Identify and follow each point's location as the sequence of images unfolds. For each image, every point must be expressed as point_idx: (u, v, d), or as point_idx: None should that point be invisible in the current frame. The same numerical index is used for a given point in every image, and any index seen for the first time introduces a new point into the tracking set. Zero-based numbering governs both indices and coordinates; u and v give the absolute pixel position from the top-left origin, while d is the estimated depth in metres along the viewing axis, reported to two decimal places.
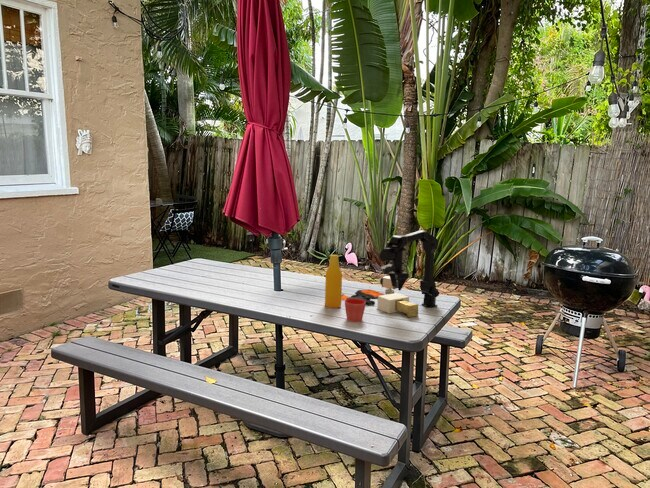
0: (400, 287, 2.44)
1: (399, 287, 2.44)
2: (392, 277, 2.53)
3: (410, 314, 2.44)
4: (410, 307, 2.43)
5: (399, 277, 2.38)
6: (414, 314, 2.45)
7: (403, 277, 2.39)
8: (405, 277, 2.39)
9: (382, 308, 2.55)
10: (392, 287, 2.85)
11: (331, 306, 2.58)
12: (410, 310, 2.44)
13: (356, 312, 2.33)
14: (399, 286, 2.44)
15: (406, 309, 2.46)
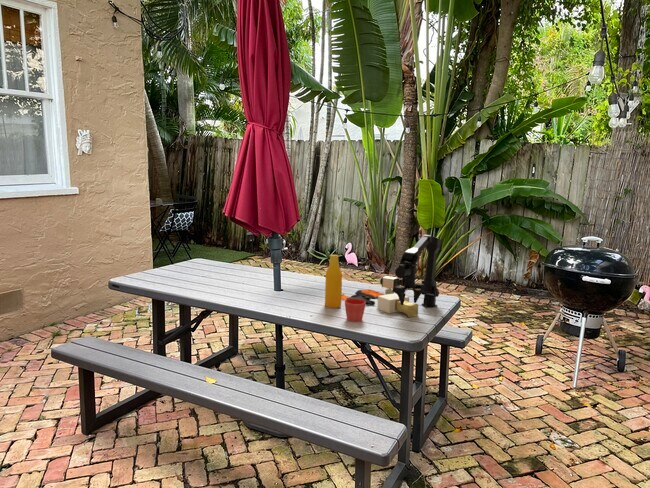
0: (401, 302, 2.45)
1: (400, 301, 2.45)
2: (415, 293, 2.50)
3: (410, 314, 2.44)
4: (410, 307, 2.43)
5: (393, 290, 2.44)
6: (414, 314, 2.45)
7: (395, 291, 2.42)
8: (397, 291, 2.41)
9: (382, 308, 2.55)
10: (392, 287, 2.85)
11: (331, 306, 2.58)
12: (410, 310, 2.44)
13: (356, 312, 2.33)
14: (400, 301, 2.45)
15: (406, 309, 2.46)
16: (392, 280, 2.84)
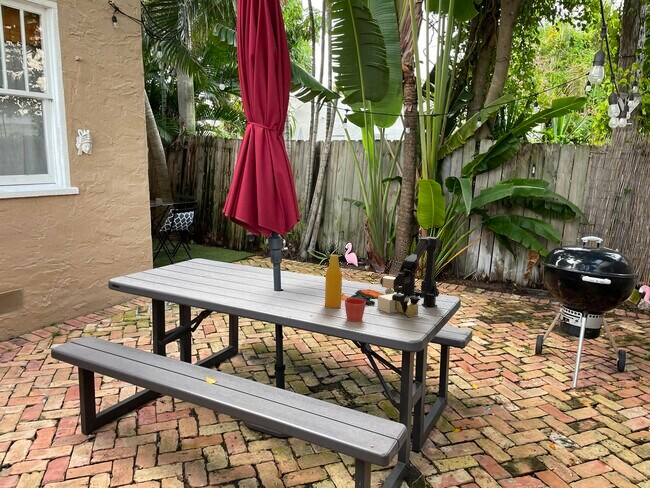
0: (403, 309, 2.46)
1: (403, 309, 2.47)
2: (411, 302, 2.50)
3: (410, 314, 2.44)
4: (410, 307, 2.43)
5: (392, 298, 2.44)
6: (414, 314, 2.45)
7: (395, 299, 2.42)
8: (396, 299, 2.41)
9: (382, 308, 2.55)
10: (392, 287, 2.85)
11: (331, 306, 2.58)
12: (410, 310, 2.44)
13: (356, 312, 2.33)
14: (403, 308, 2.47)
15: (406, 309, 2.46)
16: (392, 280, 2.84)
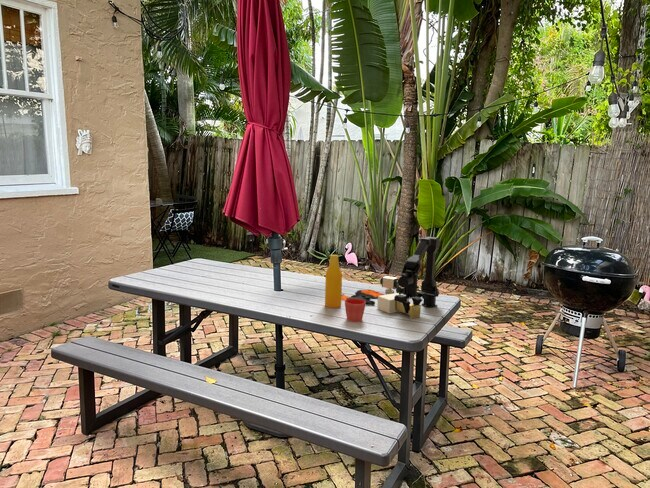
0: (406, 310, 2.45)
1: (405, 310, 2.45)
2: (414, 302, 2.48)
3: (412, 315, 2.42)
4: (412, 308, 2.42)
5: (394, 299, 2.43)
6: (416, 315, 2.44)
7: (397, 300, 2.41)
8: (398, 300, 2.40)
9: (382, 308, 2.55)
10: (392, 287, 2.85)
11: (331, 306, 2.58)
12: (412, 311, 2.42)
13: (356, 312, 2.33)
14: (405, 309, 2.45)
15: None
16: (392, 280, 2.84)
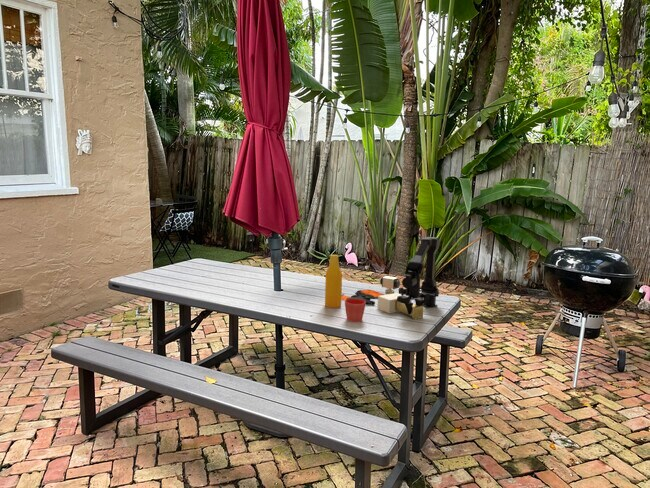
0: (408, 311, 2.43)
1: (408, 311, 2.44)
2: (416, 303, 2.46)
3: (415, 316, 2.41)
4: (415, 309, 2.40)
5: (397, 299, 2.41)
6: (419, 316, 2.42)
7: (400, 301, 2.39)
8: (401, 301, 2.38)
9: (382, 308, 2.55)
10: (392, 287, 2.85)
11: (331, 306, 2.58)
12: (415, 312, 2.40)
13: (356, 312, 2.33)
14: (408, 310, 2.43)
15: (411, 311, 2.43)
16: (392, 280, 2.84)
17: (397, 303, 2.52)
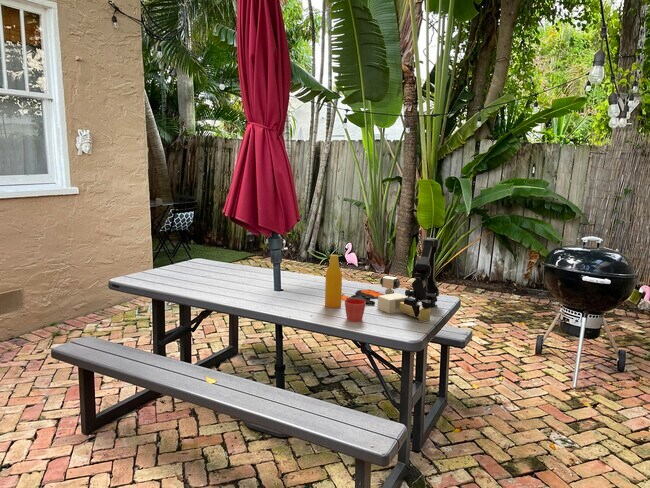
0: (415, 313, 2.39)
1: (414, 313, 2.39)
2: (423, 306, 2.42)
3: (422, 319, 2.37)
4: (422, 311, 2.36)
5: (404, 302, 2.37)
6: (426, 319, 2.38)
7: (407, 303, 2.35)
8: (408, 304, 2.34)
9: (382, 308, 2.55)
10: (392, 287, 2.85)
11: (331, 306, 2.58)
12: (422, 314, 2.36)
13: (356, 312, 2.33)
14: (415, 312, 2.39)
15: (418, 313, 2.38)
16: (392, 280, 2.84)
17: (403, 305, 2.47)
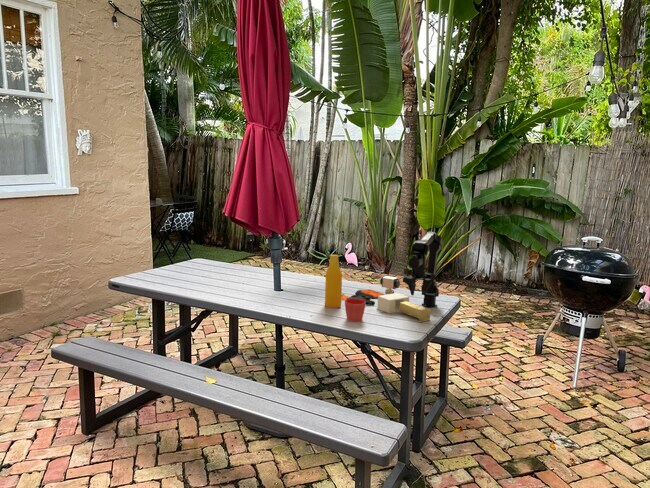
0: (411, 292, 2.44)
1: (411, 292, 2.44)
2: (424, 283, 2.49)
3: (422, 319, 2.37)
4: (422, 311, 2.36)
5: (403, 280, 2.42)
6: (426, 319, 2.38)
7: (406, 281, 2.41)
8: (407, 282, 2.40)
9: (382, 308, 2.55)
10: (392, 287, 2.85)
11: (331, 306, 2.58)
12: (422, 314, 2.36)
13: (356, 312, 2.33)
14: (411, 291, 2.44)
15: (418, 313, 2.38)
16: (392, 280, 2.84)
17: (403, 305, 2.47)
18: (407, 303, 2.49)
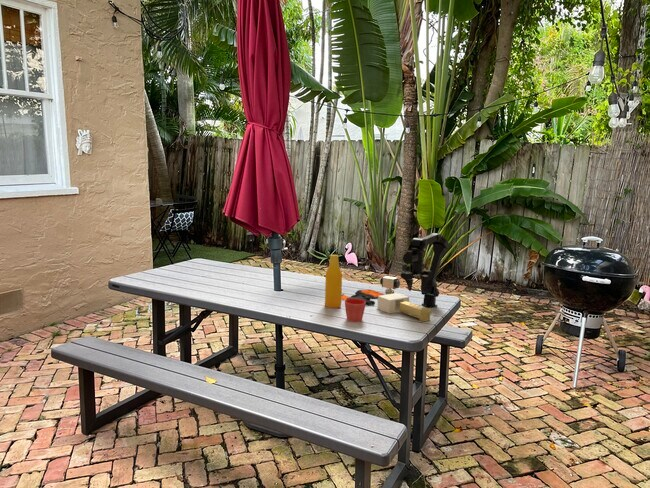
0: (409, 287, 2.50)
1: (408, 287, 2.51)
2: (422, 280, 2.56)
3: (422, 319, 2.37)
4: (422, 311, 2.36)
5: (401, 276, 2.49)
6: (426, 319, 2.38)
7: (403, 277, 2.48)
8: (405, 277, 2.47)
9: (382, 308, 2.55)
10: (392, 287, 2.85)
11: (331, 306, 2.58)
12: (422, 314, 2.36)
13: (356, 312, 2.33)
14: (408, 286, 2.51)
15: (418, 313, 2.38)
16: (392, 280, 2.84)
17: (403, 305, 2.47)
18: (407, 303, 2.49)
